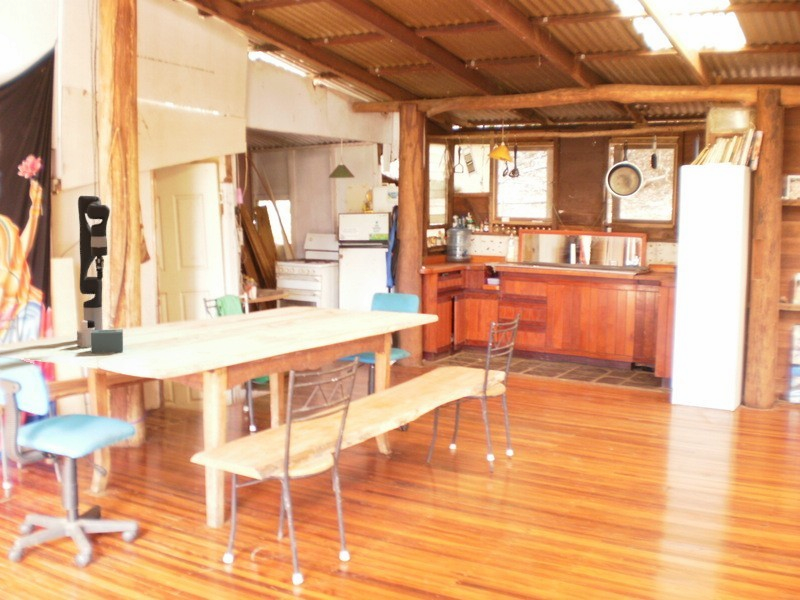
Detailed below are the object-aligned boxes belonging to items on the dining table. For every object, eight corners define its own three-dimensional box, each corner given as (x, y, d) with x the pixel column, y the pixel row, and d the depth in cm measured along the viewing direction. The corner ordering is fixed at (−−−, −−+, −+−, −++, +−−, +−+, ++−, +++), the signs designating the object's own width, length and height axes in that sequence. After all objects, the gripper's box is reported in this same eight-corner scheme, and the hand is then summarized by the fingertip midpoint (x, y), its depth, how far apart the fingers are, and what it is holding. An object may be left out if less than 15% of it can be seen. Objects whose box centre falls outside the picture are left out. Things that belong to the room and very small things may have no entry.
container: (91, 344, 417) (90, 319, 416) (99, 346, 412) (98, 320, 411) (76, 346, 411) (76, 320, 410) (85, 347, 406) (84, 321, 405)
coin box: (92, 350, 399) (92, 330, 398) (123, 349, 403) (122, 329, 402) (91, 353, 390) (90, 332, 389) (122, 352, 394) (122, 332, 393)
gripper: (91, 245, 408) (92, 277, 410) (90, 246, 394) (91, 280, 396) (107, 245, 410) (108, 277, 412) (106, 246, 397) (107, 280, 398)
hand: (100, 278), depth 404 cm, fingers open, 8 cm apart
